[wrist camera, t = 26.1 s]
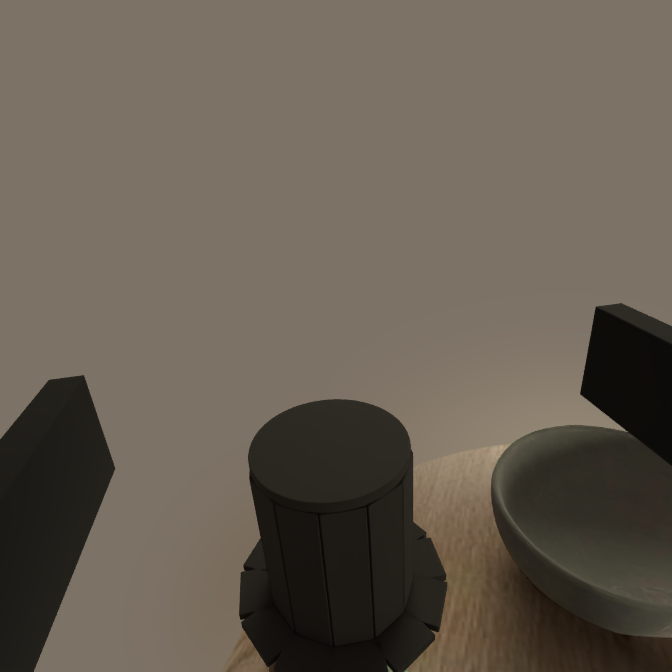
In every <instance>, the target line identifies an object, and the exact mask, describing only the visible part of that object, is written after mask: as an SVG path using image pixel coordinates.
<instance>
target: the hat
mask: <svg viewBox="0 0 672 672" xmlns="http://www.w3.org/2000/svg"><path fill="white" fill-rule="evenodd" d="M248 461H249V468H250V476H249V477H250V478H249V479H250V484H251V490H252V495H253V500H254V505H255V510H256V516H257V521H258V526H259V530H260V536H261V539H260V540H259V542H258V543H257V545H256V546H255V548H254V549H253V551H252V553H251V554H250V556H249V557H248V559H247V560H246V562H245V563H244V570H245V571H244V572H241V583H240V608H239V609H240V610H239V616H240V619H241V620H243V619H245V620H243V621H242V628H243V629H244V631H245V632H246V634H247V635H248V637H249V639H250V640H251V642H252V643H253V645H254V646H255V648H256V650H257V651H258V653H259V654H260V656H261V658H262V659H263V661H264V662H265V664H266V665H267V667H270V666H271V665H272V664H273V663H274V662H276V661H277V662H276V664H275V666H274V672H389V671H388V667H389V668H390V669H391V670H392V671H393V672H404V671H405V670H406V669H407V668H408V667H409V666H410V665H411V664H412V663H413V662H414V661H415V660H416V659H417V658H418V657H419V656H420V655H421V654H422V653H423V652H424V650H425V649H426V648H427V647H428V646H429V645H430V644H431V643H432V642H433V641H434V640H435V634H434V633H433V632H432V631H431V630H433V631H436V632H439V629H440V624H441V618H442V613H443V607H444V602H445V596H446V591H447V582H444V580H446V573H445V571H444V568H443V566H442V564H441V561H440V559H439V557H438V554H437V552H436V550H435V547H434V545H433V542H432V540H431V538H426V532H425V531H424V530H423V529H421V528H420V527H419V526H418V525H416V524H415V523H414V522H413V452H412V450H411V444H410V438H409V436H408V433H407V431H406V429H405V428H404V426H403V425H402V423H401V422H400V421H399V420H398V419H397V418H396V417H394V416H393V415H392V414H390V413H389V412H387V411H385V410H383V409H381V408H379V407H377V406H374V405H371V404H368V403H364V402H359V401H354V400H341V399H334V400H322V401H315V402H310V403H306V404H302V405H299V406H296V407H293V408H291V409H289V410H286V411H284V412H282V413H280V414H279V415H277V416H275V417H274V418H272V419H271V420H270V421H269V422H267V423H266V424H265V425H264V426H263V427H262V428H261V429H260V430H259V431H258V433H257V434H256V435H255V437H254V439H253V441H252V443H251V446H250V449H249V454H248ZM387 665H388V667H387Z"/></svg>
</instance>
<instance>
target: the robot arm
mask: <svg viewBox="0 0 672 672" xmlns="http://www.w3.org/2000/svg"><path fill="white" fill-rule="evenodd" d="M580 394H581V395H582V396H583V397H584V398H586V399H587V400H588V401H590V402H591V403H592V404H593V405H595V406H596V407H597V408H599V409H600V410H601V411H602V412H604V413H605V414H606V415H608V416H609V417H610V418H611V419H612V420H614V421H615V422H616V423H618V424H619V425H620V426H621V427H623V428H624V429H625V430H626V431H628V432H629V433H630V434H632V435H633V436H634V437H635V438H637V439H638V440H639V441H640V442H642V443H643V444H644V445H646V446H647V447H648V448H649V449H651V450H652V451H653V452H654V453H656V454H657V455H658V456H660V457H661V458H662V459H663V460H665V461H666V462H667V463H668V464H670V465H671V466H672V326H670V325H668V324H666V323H664V322H661V321H659V320H657V319H655V318H653V317H650V316H648V315H646V314H644V313H642V312H639V311H637V310H635V309H633V308H631V307H628V306H626V305H624V304H622V303H620V304H613V305H605V306H598V307H596V309H595V315H594V320H593V325H592V331H591V337H590V342H589V348H588V353H587V359H586V364H585V370H584V375H583V381H582V386H581V392H580ZM114 470H115V467H114V463H113V460H112V457H111V454H110V452H109V449H108V446H107V443H106V440H105V437H104V434H103V431H102V428H101V425H100V422H99V419H98V416H97V413H96V410H95V407H94V404H93V401H92V398H91V395H90V392H89V389H88V386H87V383H86V380H85V377H84V376H83V375H82V376H75V377H69V378H68V377H67V378H60V379H52V380H49V381H48V382H47V383H46V384H45V385H44V387H43V388H42V389H41V390H40V392H39V393H38V394H37V395H36V396H35V398H34V399H33V400H32V401H31V403H30V404H29V405H28V406H27V407H26V409H25V410H24V411H23V412H22V414H21V415H20V416H19V417H18V419H17V420H16V421H15V422H14V423H13V425H12V426H11V427H10V428H9V430H8V431H7V432H6V433H5V434H4V436H3V437H2V438H1V439H0V672H34V669H35V667H36V664H37V662H38V659H39V657H40V654H41V652H42V649H43V647H44V645H45V642H46V639H47V637H48V635H49V632H50V630H51V627H52V624H53V622H54V619H55V617H56V615H57V612H58V610H59V607H60V604H61V602H62V600H63V597H64V595H65V592H66V590H67V587H68V585H69V582H70V580H71V577H72V575H73V572H74V570H75V567H76V565H77V562H78V560H79V557H80V555H81V552H82V550H83V547H84V545H85V542H86V540H87V537H88V535H89V532H90V530H91V527H92V525H93V523H94V520H95V518H96V515H97V512H98V510H99V508H100V505H101V503H102V500H103V498H104V495H105V493H106V490H107V488H108V485H109V483H110V480H111V478H112V475H113V473H114Z"/></svg>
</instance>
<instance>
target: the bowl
mask: <svg viewBox="0 0 672 672" xmlns="http://www.w3.org/2000/svg"><path fill="white" fill-rule="evenodd" d="M491 497H492V506H493V512H494V517H495V521H496V524H497V528H498V530H499V533H500V535H501V538H502V540H503V542H504V544H505V547H506V548H507V550H508V552H509V554H510V555H511V557H512V559H513V560H514V562H515V563H516V564H517V566H518V567H519V568H520V569H521V571H522V572H523V573H524V574H525V575H526V576H527V578H528V579H529V580H530V581H531V582H532V583H533V584H534V585H535V586H536V587H537V588H538V589H539V590H540V591H541V592H543V593H544V594H545V595H546V596H547V597H549V598H550V599H551V600H552V601H554V602H555V603H557V604H558V605H559V606H561V607H563V608H564V609H566V610H567V611H569V612H571V613H572V614H574V615H576V616H577V617H579V618H581V619H583V620H585V621H588V622H590V623H592V624H595V625H597V626H599V627H602V628H605V629H607V630H610V631H613V632H616V633H620V634H626V635H635V636H646V637H662V638H672V466H671V465H670V464H668V463H667V462H666V461H665V460H663V459H662V458H661V457H660V456H658V455H657V454H656V453H654V452H653V451H652V450H651V449H649V448H648V447H647V446H646V445H644V444H643V443H642V442H640V441H639V440H638V439H637V438H635V437H634V436H633V435H632V434H630V433H629V432H624V431H620V430H615V429H610V428H603V427H594V426H583V425H567V426H558V427H551V428H546V429H542V430H538V431H535V432H532V433H530V434H528V435H526V436H523V437H521V438H520V439H518V440H516V441H515V442H514V443H512V444H511V445H510V446H509V447H508V448H507V449H506V450H505V451H504V453H503V454H502V455H501V457H500V458H499V460H498V461H497V464H496V466H495V468H494V471H493V474H492V482H491Z"/></svg>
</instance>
